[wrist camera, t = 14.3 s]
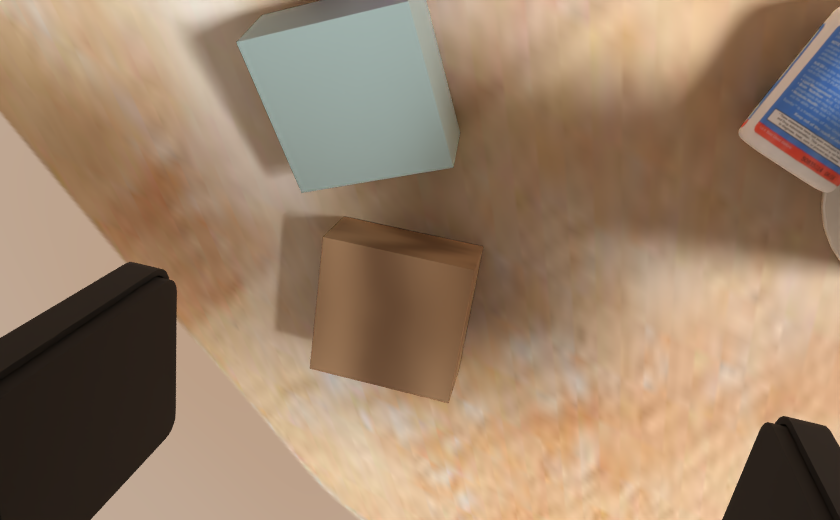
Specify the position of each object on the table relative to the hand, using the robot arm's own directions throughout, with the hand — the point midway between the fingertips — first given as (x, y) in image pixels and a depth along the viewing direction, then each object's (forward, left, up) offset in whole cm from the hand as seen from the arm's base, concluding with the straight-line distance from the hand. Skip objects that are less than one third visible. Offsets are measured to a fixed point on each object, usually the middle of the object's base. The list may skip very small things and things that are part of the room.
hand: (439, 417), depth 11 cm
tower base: (+6, +13, -30) cm, 34 cm away
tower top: (+10, 0, -29) cm, 31 cm away
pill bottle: (-12, 0, -28) cm, 30 cm away
